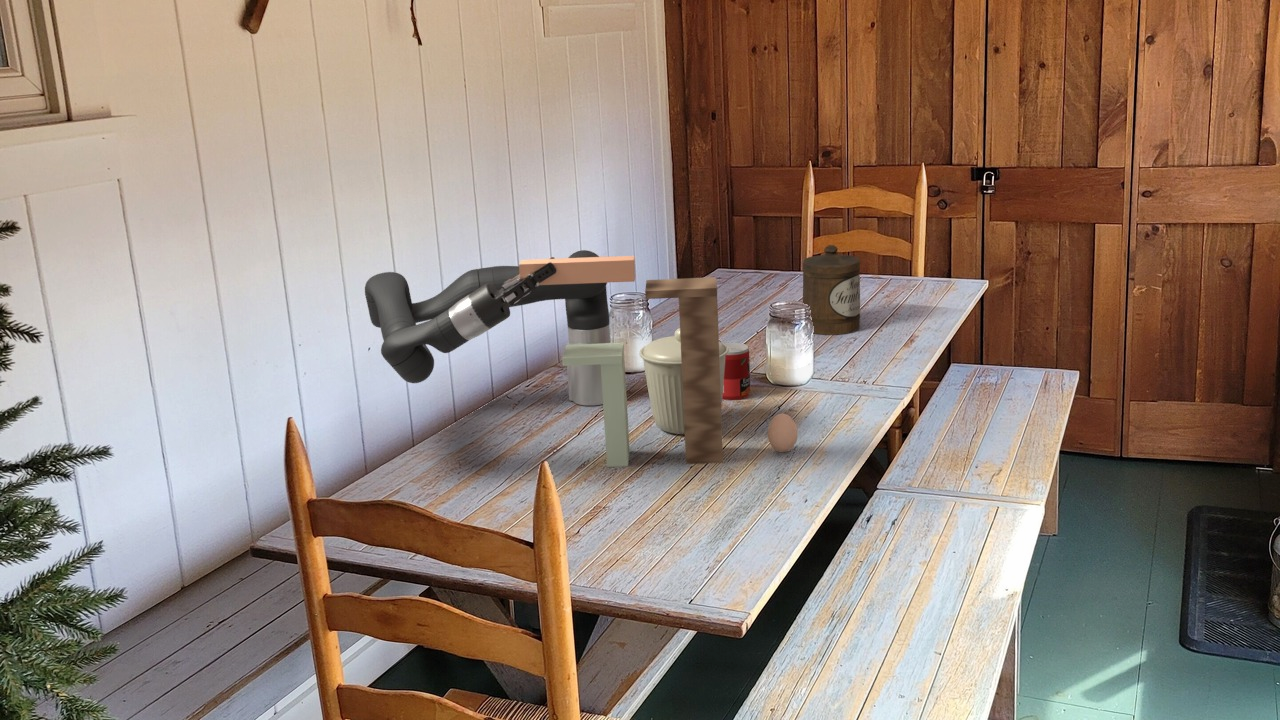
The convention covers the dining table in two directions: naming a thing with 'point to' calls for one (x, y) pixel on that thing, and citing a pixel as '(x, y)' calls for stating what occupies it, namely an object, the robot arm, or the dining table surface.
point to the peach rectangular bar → (584, 269)
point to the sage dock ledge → (608, 394)
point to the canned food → (736, 372)
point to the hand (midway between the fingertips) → (555, 264)
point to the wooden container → (832, 292)
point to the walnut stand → (697, 363)
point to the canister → (670, 380)
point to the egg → (782, 433)
